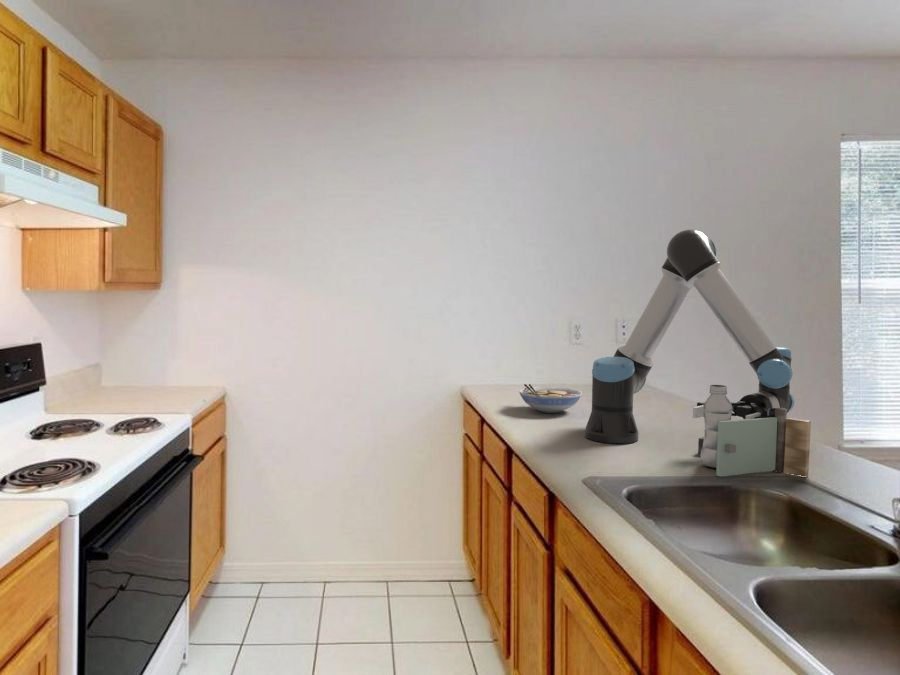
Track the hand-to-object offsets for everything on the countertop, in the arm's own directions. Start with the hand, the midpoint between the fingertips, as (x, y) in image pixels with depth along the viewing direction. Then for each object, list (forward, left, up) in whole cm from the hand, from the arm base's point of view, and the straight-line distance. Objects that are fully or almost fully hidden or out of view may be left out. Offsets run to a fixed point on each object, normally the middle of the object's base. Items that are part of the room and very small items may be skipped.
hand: (719, 417), depth 139 cm
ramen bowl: (-34, +66, -12) cm, 75 cm away
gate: (+4, -7, -12) cm, 14 cm away
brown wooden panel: (+9, +3, -12) cm, 15 cm away
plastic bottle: (-1, -1, -12) cm, 12 cm away
